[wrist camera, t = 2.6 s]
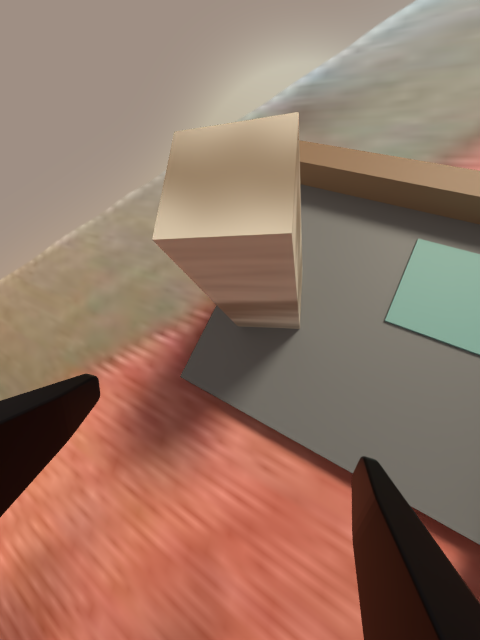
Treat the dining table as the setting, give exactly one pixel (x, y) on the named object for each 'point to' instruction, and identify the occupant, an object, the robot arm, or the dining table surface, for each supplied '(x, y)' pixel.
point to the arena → (373, 330)
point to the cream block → (238, 217)
